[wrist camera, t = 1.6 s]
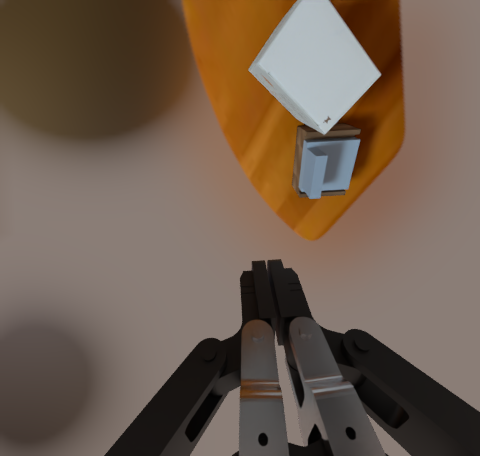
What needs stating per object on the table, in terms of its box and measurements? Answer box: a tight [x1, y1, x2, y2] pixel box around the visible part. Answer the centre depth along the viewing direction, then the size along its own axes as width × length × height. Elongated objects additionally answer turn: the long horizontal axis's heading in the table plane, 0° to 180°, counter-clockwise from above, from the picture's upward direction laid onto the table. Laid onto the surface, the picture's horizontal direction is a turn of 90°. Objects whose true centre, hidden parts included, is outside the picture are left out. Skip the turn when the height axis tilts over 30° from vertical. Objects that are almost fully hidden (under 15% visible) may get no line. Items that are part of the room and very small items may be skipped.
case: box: [292, 123, 361, 197], centre depth 28 cm, size 8×6×4 cm
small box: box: [249, 0, 381, 135], centre depth 20 cm, size 8×6×10 cm
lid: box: [299, 137, 360, 199], centre depth 25 cm, size 6×6×5 cm
